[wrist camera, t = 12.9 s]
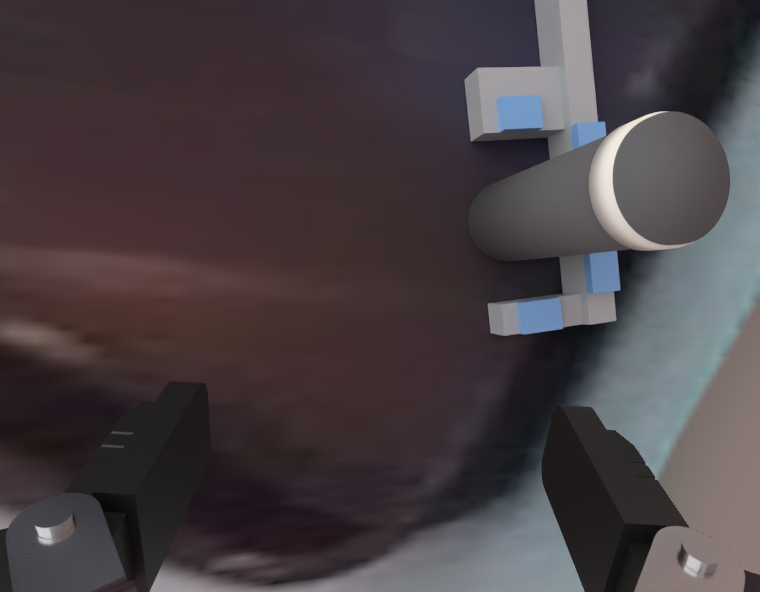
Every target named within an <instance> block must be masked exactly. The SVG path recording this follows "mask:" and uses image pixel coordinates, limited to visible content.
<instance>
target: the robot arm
mask: <svg viewBox="0 0 760 592" xmlns="http://www.w3.org/2000/svg"><path fill="white" fill-rule="evenodd" d="M210 441H211V440H210V423H209V408H208V393H207V387H206V385H205V384H204V383H195V382H178V381H171V382H169V383H168V384H167V386H166V387H165V388H164V390H163V391H162V393H161V394H160V396H159V397H158V398H157V400H156V401H155V402H142V403H141V404H139V405H138V406H136V407H135V408H133V409H132V410H130V411H129V412H127V413H126V414H124V415H123V416H122V418H121V419H120V420H119V422H118V423H117V424H116V426H115V427H114V428H113V430H112V433H111V434H109V435H108V436H107V437H106V439H105V440H104V441H103V443H102V446H101V447H99V448H98V449H97V450H96V452H95V453H94V454H93V456H92V457H91V458H90V460H89V461H88V462H87V463H86V465H85V466H84V467H83V469H82V470H81V471H80V473H79V474H78V475H77V476H76V478H75V479H74V480H73V482H72V483H71V484H70V486H69V487H68V488H67V490H66V491H65V492H64V493H63V494H58V495H54V496H51V497H48V498H45V499H43V500H40V501H38V502H36V503H34V504H33V505H31V506H29V507H28V508H26V509H25V510H24V511H22V512H21V513H20V514H19V515H18V516H17V517H16V518H15V519H14V520H13V521H12V523H11V524H10V526H9V528H6V529H2V530H0V592H149V591H150V589H151V587H152V585H153V583H154V580H155V578H156V576H157V574H158V572H159V569H160V567H161V565H162V563H163V561H164V558H165V556H166V554H167V552H168V550H169V547H170V545H171V543H172V541H173V538H174V536H175V534H176V532H177V530H178V527H179V525H180V523H181V521H182V519H183V516H184V514H185V512H186V510H187V508H188V505H189V503H190V501H191V499H192V497H193V494H194V492H195V490H196V488H197V486H198V483H199V481H200V479H201V477H202V475H203V472H204V470H205V468H206V465H207V462H208V458H209V453H210ZM542 480H543V485H544V488H545V491H546V494H547V496H548V499H549V501H550V504H551V506H552V509H553V511H554V514H555V517H556V519H557V522H558V524H559V527H560V529H561V532H562V535H563V537H564V540H565V542H566V545H567V547H568V550H569V552H570V555H571V558H572V560H573V563H574V565H575V568H576V570H577V573H578V575H579V578H580V581H581V583H582V586H583V588H584V591H585V592H760V575H758V574H755V573H751V572H748V571H745V570H744V569H743V567H742V565H741V563H740V562H739V561H738V559H737V558H736V557H735V556H734V554H733V553H732V552H731V551H730V550H729V549H728V548H727V547H725V546H724V545H723V544H721V543H720V542H719V541H717V540H716V539H714V538H712V537H711V536H709V535H707V534H705V533H702V532H700V531H698V530H695V529H691V528H689V526H688V525H687V523H686V522H685V520H684V519H683V517H682V516H681V514H680V513H679V511H678V510H677V508H676V507H675V506H674V504H673V503H672V501H671V500H670V498H669V497H668V495H667V494H666V492H665V491H664V489H663V488H662V487H661V485H660V483H659V482H658V480H655V476H654V475H653V473H652V472H651V470H650V469H649V467H648V466H646V465H645V461H644V460H643V458H642V457H641V455H640V454H639V452H638V451H637V449H636V448H635V447H634V445H632V444H631V443H630V442H629V441H627V440H626V439H625V438H624V437H622V436H621V435H620V434H619V433H617V432H616V431H615V430H606V428H605V427H604V425H603V424H602V422H601V421H600V419H599V417H598V416H597V414H596V413H595V411H594V410H593V409H592V408H591V407H581V406H564V405H557V406H556V407H555V409H554V411H553V414H552V419H551V423H550V427H549V432H548V436H547V441H546V445H545V450H544V454H543V459H542Z"/></svg>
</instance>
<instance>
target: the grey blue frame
mask: <svg viewBox="0 0 760 592" xmlns="http://www.w3.org/2000/svg"><path fill="white" fill-rule="evenodd" d="M534 2H535V12H536V22H537V33H538V43H539V53H540V64H541V67H498V68H477V69H476V70H475V71H473V72H472V73H471V74H470V75H469V76H468V77H467V78H466V79H465V80H464V81H465V90H466V100H467V110H468V119H469V129H470V139H471V142H476V141H495V140H513V139H532V138H548V146H549V156H550V159H552V158H554V157H557V156H559V155H562V154H564V153H566V152H569V151H571V150H573V149H576V148H578V147H580V146H583V145H585V144H588V143H590V142H592V141H595V140H597V139H599V138H602V137H604V136H606V128H605V122H598V117H597V107H596V96H595V85H594V74H593V64H592V53H591V42H590V32H589V21H588V10H587V0H534ZM559 259H560V269H561V280H562V290H563V293H562V294H555V295H547V296H540V297H532V298H525V299H517V300H510V301H502V302H495V303H488V313H489V322H490V332H491V333H492V334H497V335H503V336H508V335H514V334H532V333H539V332H545V331H552V330H558V329H563V327H567V326H574V325H581V324H587V325H591V324H598V323H605V322H611V321H616V311H615V300H614V291H619V290H620V279H619V268H618V257H617V251H610V252H600V253H590V254H580V255H571V256H561V257H559Z"/></svg>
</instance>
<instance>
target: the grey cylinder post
mask: <svg viewBox="0 0 760 592" xmlns="http://www.w3.org/2000/svg"><path fill="white" fill-rule="evenodd" d="M729 187H730V174H729V166H728V162H727V158H726V155H725V152H724V150H723V148H722V146H721V143H720V142H719V140H718V139H717V137H716V135H715V134H714V133H713V132H712V131H711V129H710V128H709V127H707V126H706V125H705V124H704V123H703V122H701V121H700V120H699V119H697V118H695V117H693V116H691V115H688V114H685V113H681V112H655V113H651V114H648V115H645V116H643V117H641V118H639V119H636V120H634V121H632V122H629V123H627V124H625V125H622V126H620V127H618V128H617V129H615V130H614V131H612V132H611V133H610V134H609V135H607V136H604V137H602V138H599V139H597V140H595V141H592V142H590V143H588V144H585V145H583V146H580V147H578V148H576V149H573V150H571V151H569V152H566V153H564V154H562V155H559V156H557V157H554V158H552V159H550V160H547V161H545V162H543V163H540V164H538V165H535V166H533V167H531V168H528V169H526V170H524V171H521V172H519V173H516V174H514V175H512V176H509V177H507V178H505V179H502V180H500V181H497V182H495V183H493V184H490V185H488V186H486V187H485V188H483V189H482V190H481V191H480V192H479V193H478V194H477V195H476V197H475V198H474V200H473V202H472V204H471V206H470V209H469V214H468V228H469V232H470V236H471V238H472V240H473V242H474V244H475V245H476V247H477V248H478V249H479V250H480V251H481V252H482V253H483V254H484V255H486V256H487V257H489V258H491V259H493V260H496V261H501V262H511V261H521V260H531V259H541V258H551V257H561V256H571V255H580V254H590V253H600V252H610V251H620V250H630V249H635V250H641V251H651V250H662V249H673V248H679V247H683V246H686V245H688V244H690V243H692V242H694V241H696V240H698V239H699V238H701V237H703V236H704V235H706V234H707V233H708V232H709V231H710V230H711V229H712V228H713V227H714V226H715V225H716V223H717V222H718V221H719V219H720V217H721V215H722V213H723V211H724V209H725V206H726V203H727V200H728V195H729Z"/></svg>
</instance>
